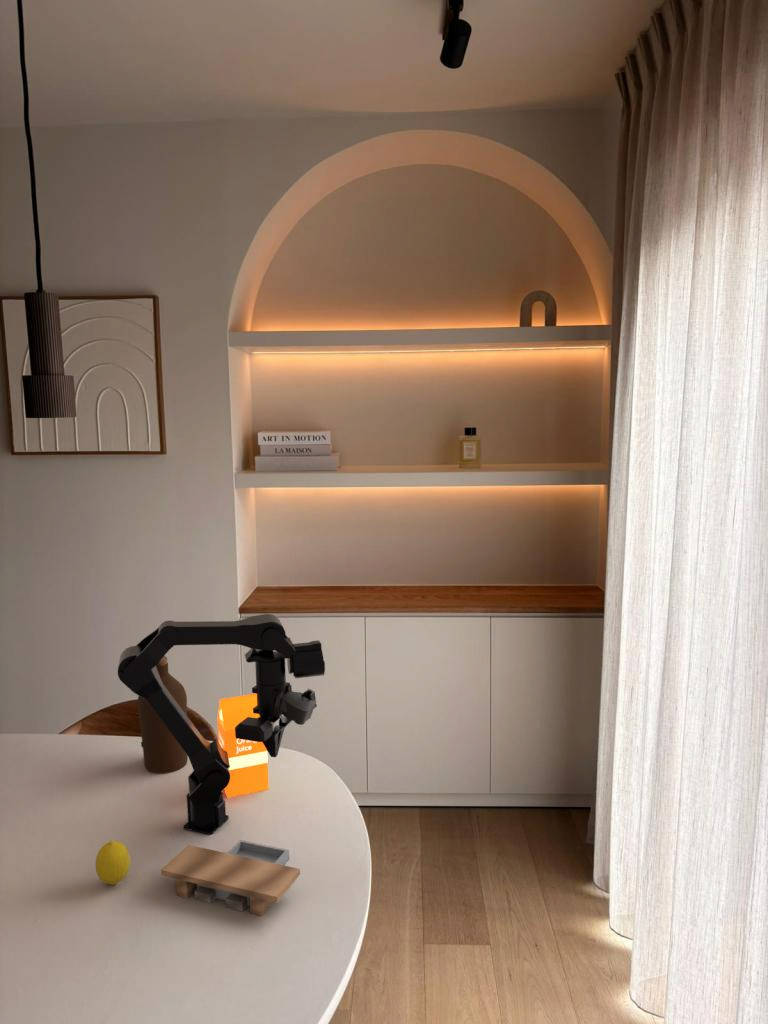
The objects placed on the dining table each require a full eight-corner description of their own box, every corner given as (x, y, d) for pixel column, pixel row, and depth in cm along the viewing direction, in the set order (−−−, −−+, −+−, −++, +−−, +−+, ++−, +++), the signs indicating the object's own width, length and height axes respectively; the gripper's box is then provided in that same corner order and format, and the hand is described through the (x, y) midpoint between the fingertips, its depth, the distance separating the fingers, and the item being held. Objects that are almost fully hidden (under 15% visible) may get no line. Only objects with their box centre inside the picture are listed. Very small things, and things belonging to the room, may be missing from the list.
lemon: (121, 896, 135) (117, 851, 134) (90, 892, 136) (87, 848, 135) (137, 876, 141) (134, 834, 139) (108, 873, 142) (105, 831, 141)
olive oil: (200, 760, 185) (194, 654, 181) (165, 779, 176) (158, 669, 172) (166, 750, 190) (160, 647, 186) (131, 768, 181) (124, 661, 178)
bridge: (162, 891, 136) (160, 869, 136) (189, 865, 144) (188, 844, 143) (278, 920, 128) (277, 896, 128) (300, 890, 136) (299, 868, 135)
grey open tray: (197, 894, 136) (196, 883, 135) (240, 849, 149) (240, 839, 148) (249, 906, 132) (249, 895, 132) (289, 860, 145) (288, 849, 145)
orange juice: (269, 789, 171) (265, 699, 168) (227, 798, 167) (222, 706, 164) (260, 773, 178) (256, 686, 175) (219, 781, 174) (215, 693, 171)
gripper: (285, 703, 145) (288, 784, 148) (328, 669, 162) (331, 742, 165) (231, 695, 149) (235, 775, 152) (279, 663, 166) (282, 735, 169)
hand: (274, 756), depth 159 cm, fingers closed
